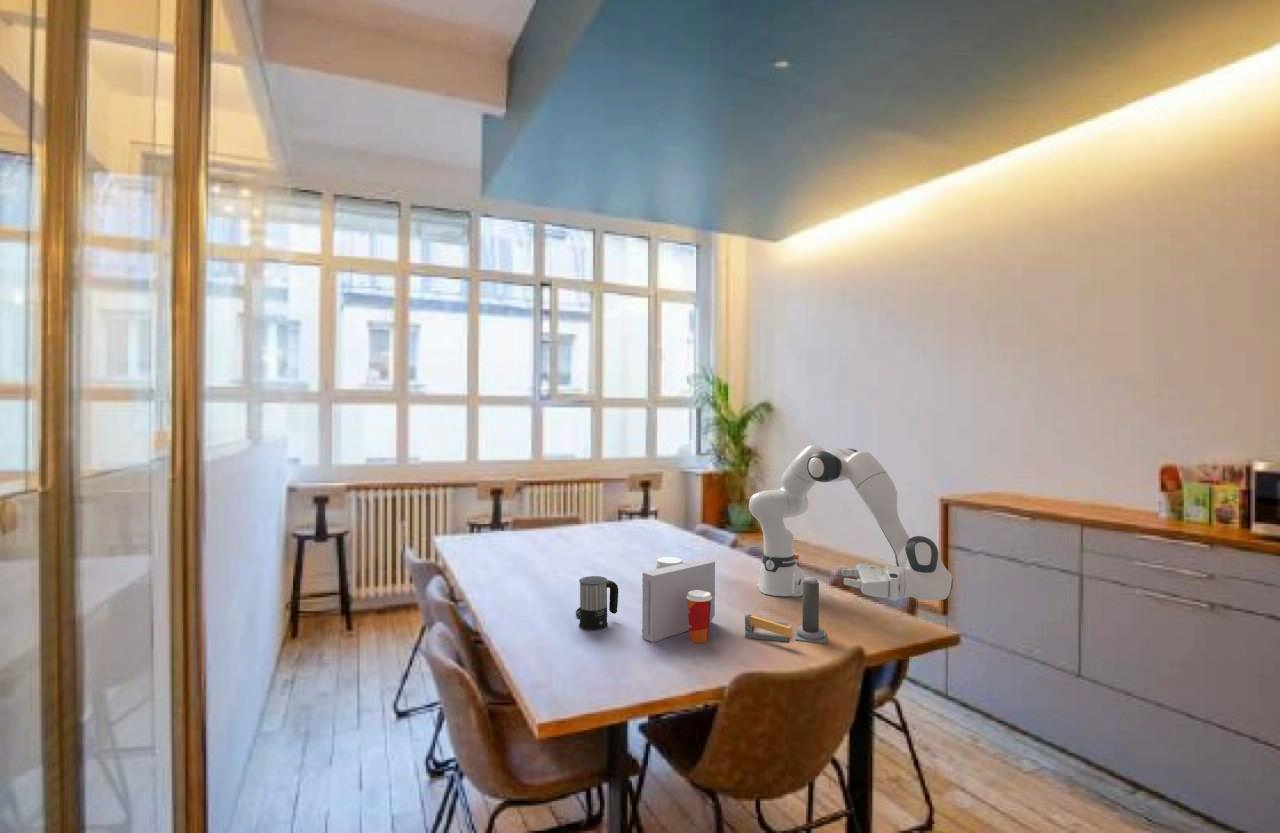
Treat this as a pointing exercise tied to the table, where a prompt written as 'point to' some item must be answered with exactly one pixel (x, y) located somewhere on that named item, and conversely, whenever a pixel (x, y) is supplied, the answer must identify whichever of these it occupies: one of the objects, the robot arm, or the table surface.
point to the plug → (810, 611)
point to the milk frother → (596, 602)
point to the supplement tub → (667, 562)
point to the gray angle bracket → (767, 635)
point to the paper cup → (699, 615)
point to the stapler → (768, 625)
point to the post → (748, 628)
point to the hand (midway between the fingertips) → (842, 576)
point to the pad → (810, 640)
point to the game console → (673, 597)
